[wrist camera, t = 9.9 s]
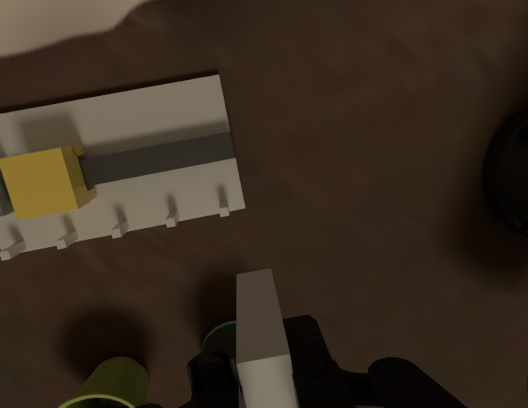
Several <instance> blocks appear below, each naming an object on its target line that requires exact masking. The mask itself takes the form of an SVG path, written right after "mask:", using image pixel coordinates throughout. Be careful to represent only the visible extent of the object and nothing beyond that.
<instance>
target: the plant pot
mask: <svg viewBox="0 0 528 408" xmlns="http://www.w3.org/2000/svg"><path fill="white" fill-rule="evenodd" d="M148 392H149V376H148V373H147V371H146V369H145V368H144V367H142V366H141V365H140V364H138V363H137V362H136V361H135V360H134V359H131V358H128V357H113V358H110V359H107V360H105V361H104V362H103V363H101V364H100V365H99V366H98V367H97V368H96V369H95V370H94V372H93V373H92V374H91V375H90V377H89V378H88V379H87V380H86V382H85V383H84V384H83V385H82V387H81V388H80V389H79V390H78V392H77V393H76V394H75V395H74V396H73V397H72V398H70V399H69V400H67V401H65V402H64V403H62V404H61V405H59V406H58V407H57V408H135V407H137V406H140V405H143V404H148ZM117 401H119V402H117Z"/></svg>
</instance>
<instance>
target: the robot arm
mask: <svg viewBox="0 0 528 408" xmlns="http://www.w3.org/2000/svg"><path fill="white" fill-rule="evenodd" d="M483 186H484V192H485V196H486V199H487V202H488V204H489V207H490V209H491V210H492V212H493V213H494V215H495V216H496V217H497V219H498V220H499V221H500V222H501V223H503V224H504V225H505V226H506V227H508V228H509V229H511V230H513V231H515V232H518V233H520V234H523V235H525V236H528V105H527V106H525V107H524V108H522V109H521V110H519V111H518V112H517V113H515V114H514V115H513V116H512V117H511V118H510V119H509V120H508V121H507V122H506V123H505V124H504V125H503V126H502V127H501V129H500V130H499V131H498V133H497V134H496V136H495V138H494V139H493V141H492V143H491V145H490V148H489V150H488V153H487V156H486V160H485V164H484V171H483ZM186 369H187V373H188V377H189V382H190V386H191V391H192V397H191V400H190V401H189V402H187V403H186V404H184V405H182V406H181V407H179V408H467V407H466V406H465V405H463V404H462V403H461V402H460V401H459V400H457V399H456V398H455V397H454V396H453V395H451V394H450V393H449V392H448V391H446V390H445V389H444V388H443V387H442V386H440V385H439V384H438V383H437V382H435V381H434V380H433V379H432V378H431V377H429V376H428V375H427V374H426V373H424V372H423V371H422V370H421V369H420V368H418V367H417V366H416V365H415V364H413V363H411V362H410V361H408V360H405V359H401V358H397V357H387V358H382V359H379V360H377V361H375V362H373V363H372V364H371V365H370V367H369V368H368V373H354V372H349V371H345V370H343V369H341V368H339V366H338V364H337V363H336V362H335V361H334V360H332V359H331V356H330V354H329V351H328V349H327V346H326V344H325V341H324V339H323V336H322V334H321V331H320V329H319V326H318V324H317V321H316V320H315V319H313V318H312V317H311V316H309V315H303V316H298V317H292V318H287V319H282V316H281V312H280V308H279V303H278V299H277V294H276V290H275V285H274V281H273V277H272V272H271V269H265V270H260V271H254V272H248V273H243V274H237V304H236V329H232V330H227V331H221V332H216V333H212V335H211V336H210V337H209V339H208V340H207V341H206V345H205V352H202V353H200V354H198V355H196V356H195V357H194V358H192V359H191V360H190V361H189V363H188V365H187V367H186ZM527 391H528V376H527ZM135 408H163V407H161V406H160V405H158V404H152V403H149V404H143V405H140V406H137V407H135Z"/></svg>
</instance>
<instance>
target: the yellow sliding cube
mask: <svg viewBox="0 0 528 408" xmlns="http://www.w3.org/2000/svg"><path fill="white" fill-rule="evenodd" d="M84 154H85V152H84V149H83V145H79V146H74V145H72V146H66V147H60V148H55V149H50V150H44V151H39V152H33V153H28V154H23V155H17V156H12V157H7V158H1V159H0V168H1V171H2V175H3V178H4V181H5V184H6V187H7V190H8V193H9V196H10V199H11V202H12V205H13V208H14V211H15V214H16V217H17V220H18V221H20V220H25V219H30V218H35V217H41V216H46V215H51V214H56V213H61V212H66V211H71V210H77V209H79V208H81V207H83V206H84V205H86V204H88V203H89V202H90V201H91V200H92V199H94V198H95V197H97V195H96V192H95V188H89V189H86V185H85V182H84V178H83V175H82V171H81V168H80V164H79V161H78V157H77V156H81V155H84Z"/></svg>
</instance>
